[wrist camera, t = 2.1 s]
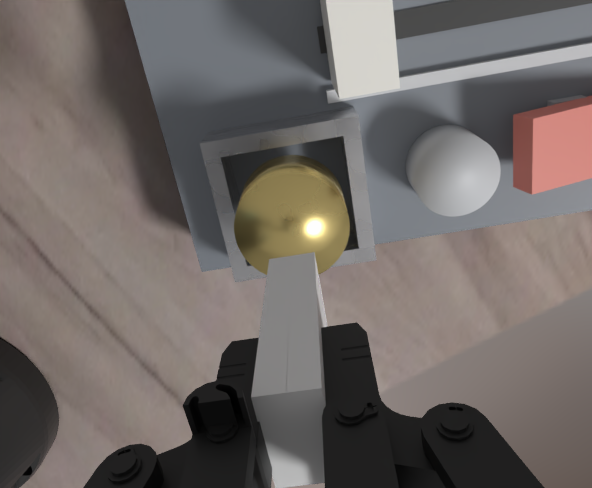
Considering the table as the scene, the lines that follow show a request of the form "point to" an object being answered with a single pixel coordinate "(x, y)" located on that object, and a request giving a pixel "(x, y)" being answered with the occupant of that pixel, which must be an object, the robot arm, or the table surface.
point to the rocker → (552, 146)
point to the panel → (371, 103)
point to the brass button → (291, 213)
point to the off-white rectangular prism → (360, 46)
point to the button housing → (282, 134)
